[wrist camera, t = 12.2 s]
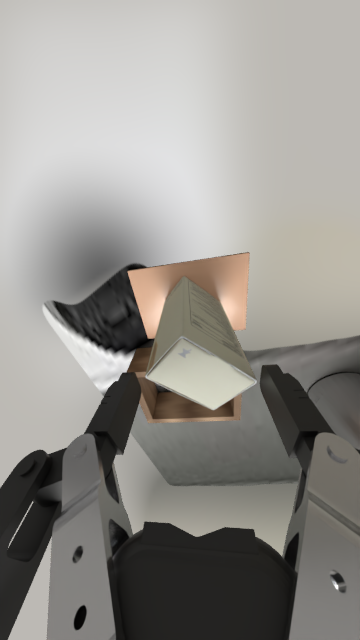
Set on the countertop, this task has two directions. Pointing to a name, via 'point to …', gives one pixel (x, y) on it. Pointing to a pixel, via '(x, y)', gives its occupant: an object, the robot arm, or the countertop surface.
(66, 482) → the robot arm
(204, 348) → the skincare box
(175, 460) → the countertop surface
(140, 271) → the terracotta tile
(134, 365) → the frame
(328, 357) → the countertop surface
